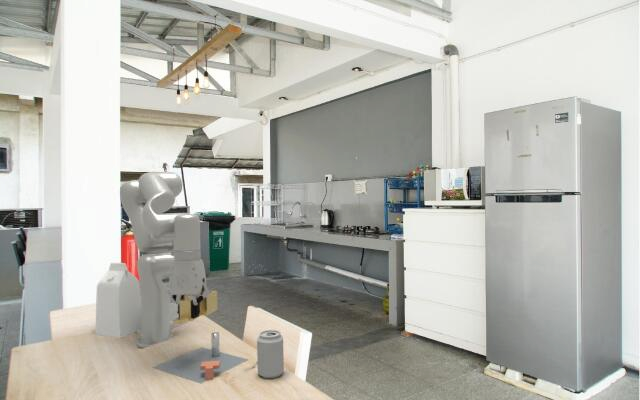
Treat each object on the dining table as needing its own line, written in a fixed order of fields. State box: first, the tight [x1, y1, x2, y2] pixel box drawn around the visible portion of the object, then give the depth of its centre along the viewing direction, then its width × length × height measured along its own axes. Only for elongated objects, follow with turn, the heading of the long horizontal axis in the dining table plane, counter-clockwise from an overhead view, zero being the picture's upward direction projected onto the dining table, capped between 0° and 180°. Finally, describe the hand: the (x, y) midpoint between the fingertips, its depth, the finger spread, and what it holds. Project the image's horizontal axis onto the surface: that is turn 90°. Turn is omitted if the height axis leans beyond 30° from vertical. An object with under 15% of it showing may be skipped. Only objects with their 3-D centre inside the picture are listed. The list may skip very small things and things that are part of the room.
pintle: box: [210, 331, 221, 357], centre depth 136 cm, size 2×2×8 cm
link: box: [173, 290, 218, 325], centre depth 133 cm, size 18×7×6 cm, turn 167°
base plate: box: [152, 347, 249, 384], centre depth 130 cm, size 20×19×2 cm
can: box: [256, 329, 285, 379], centre depth 126 cm, size 8×8×12 cm
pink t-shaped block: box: [200, 361, 220, 381], centre depth 122 cm, size 5×5×5 cm
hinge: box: [170, 302, 188, 330], centre depth 171 cm, size 17×5×10 cm, turn 155°
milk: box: [94, 262, 141, 339], centre depth 166 cm, size 12×12×26 cm
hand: (189, 316), depth 131 cm, fingers closed on link, 3 cm apart
